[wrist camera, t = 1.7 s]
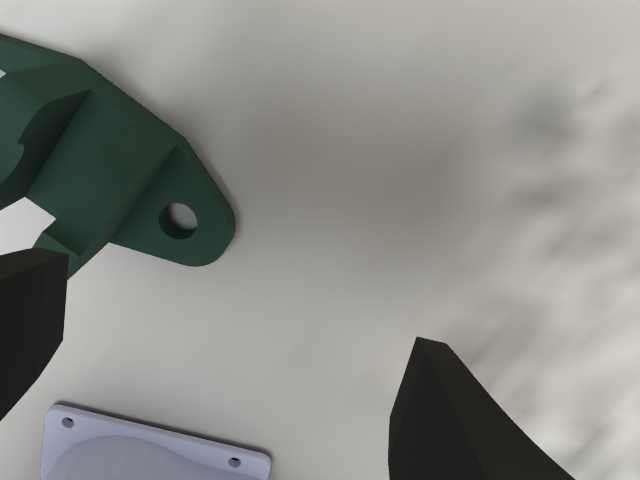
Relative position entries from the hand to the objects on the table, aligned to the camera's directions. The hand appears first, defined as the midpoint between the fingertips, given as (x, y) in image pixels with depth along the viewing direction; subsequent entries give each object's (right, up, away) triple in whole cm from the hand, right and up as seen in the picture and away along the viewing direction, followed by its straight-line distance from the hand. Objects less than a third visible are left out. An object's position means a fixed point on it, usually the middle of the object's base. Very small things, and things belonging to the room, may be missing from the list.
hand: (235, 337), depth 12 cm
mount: (-6, +5, +9) cm, 12 cm away
